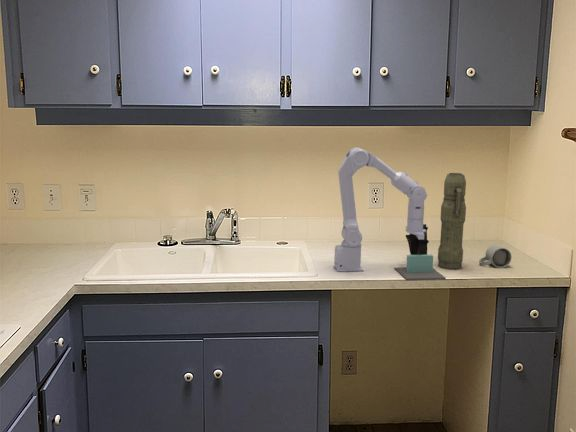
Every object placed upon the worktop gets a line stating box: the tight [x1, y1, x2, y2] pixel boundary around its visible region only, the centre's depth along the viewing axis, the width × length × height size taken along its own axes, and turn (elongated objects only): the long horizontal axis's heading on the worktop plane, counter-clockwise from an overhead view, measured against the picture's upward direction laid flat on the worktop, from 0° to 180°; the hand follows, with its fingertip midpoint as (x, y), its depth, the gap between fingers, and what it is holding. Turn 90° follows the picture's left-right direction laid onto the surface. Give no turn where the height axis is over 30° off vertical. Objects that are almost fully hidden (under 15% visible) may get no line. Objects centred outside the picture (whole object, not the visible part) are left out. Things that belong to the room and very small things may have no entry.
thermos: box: [437, 172, 467, 271], centre depth 214 cm, size 9×12×35 cm
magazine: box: [417, 223, 429, 255], centre depth 223 cm, size 4×13×15 cm, turn 3°
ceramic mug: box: [478, 244, 512, 269], centre depth 219 cm, size 11×8×8 cm
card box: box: [406, 254, 434, 273], centre depth 207 cm, size 9×2×6 cm, turn 97°
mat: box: [393, 266, 447, 281], centre depth 206 cm, size 14×14×1 cm
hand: (413, 254), depth 212 cm, fingers closed
